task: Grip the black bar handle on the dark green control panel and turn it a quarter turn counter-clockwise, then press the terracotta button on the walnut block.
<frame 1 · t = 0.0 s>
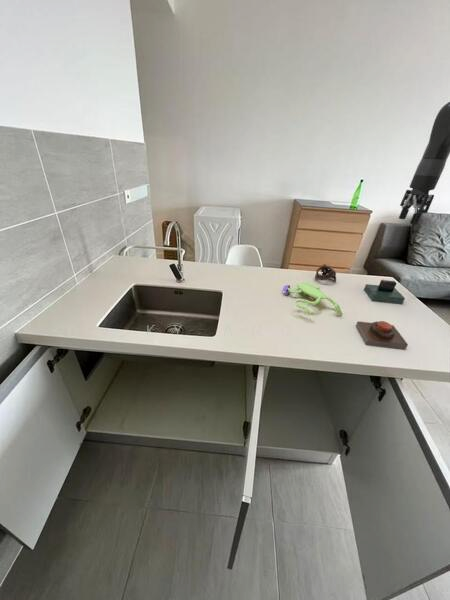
hand: (407, 221, 93), 31 cm above the worktop, tool pointing down, fingers open, 8 cm apart
panel: (382, 296, 106), on the worktop
button block: (378, 337, 81), on the worktop
button: (383, 326, 79), point 4 cm above the worktop, slide at 0.1 cm
dark brown dome: (324, 279, 118), on the worktop
figurine: (309, 303, 99), on the worktop
handle: (386, 285, 103), point 5 cm above the worktop, hinge at 0.0°
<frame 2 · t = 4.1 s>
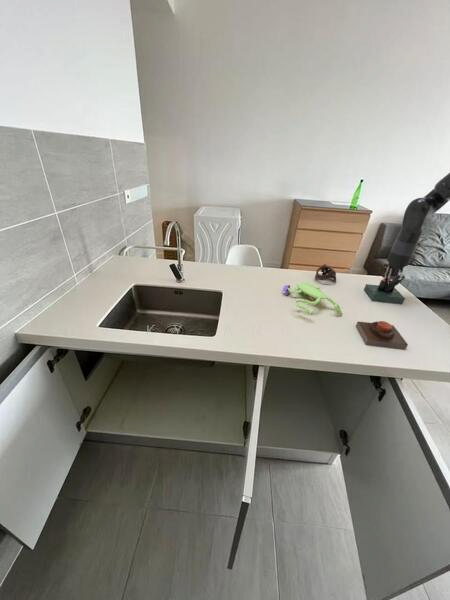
hand: (384, 290, 104), 3 cm above the worktop, tool pointing down, fingers closed on handle, 2 cm apart
handle: (386, 285, 103), point 5 cm above the worktop, hinge at 0.1°, touching gripper
everything else where it was.
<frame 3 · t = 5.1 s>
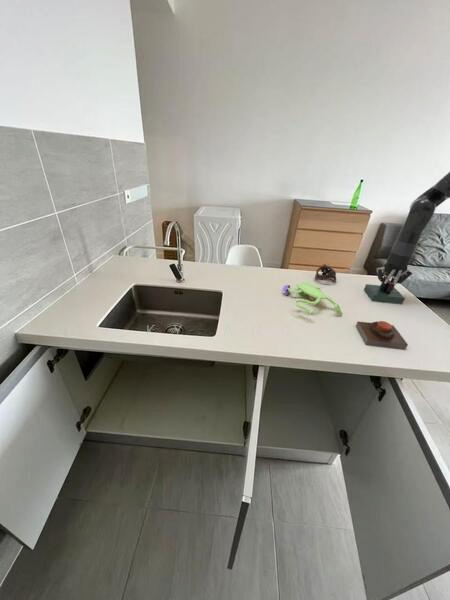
hand: (385, 290, 104), 3 cm above the worktop, tool pointing down, fingers closed
handle: (386, 285, 103), point 5 cm above the worktop, hinge at 89.8°
everything else where it was.
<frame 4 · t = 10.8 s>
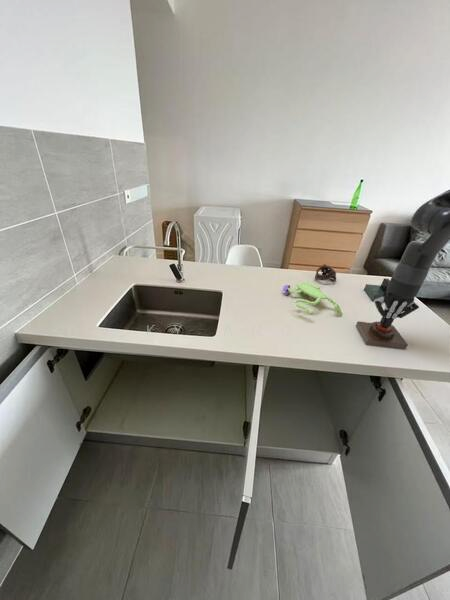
hand: (384, 325, 79), 5 cm above the worktop, tool pointing down, fingers closed
button: (383, 328, 79), point 4 cm above the worktop, slide at -0.5 cm, touching gripper
everything else where it was.
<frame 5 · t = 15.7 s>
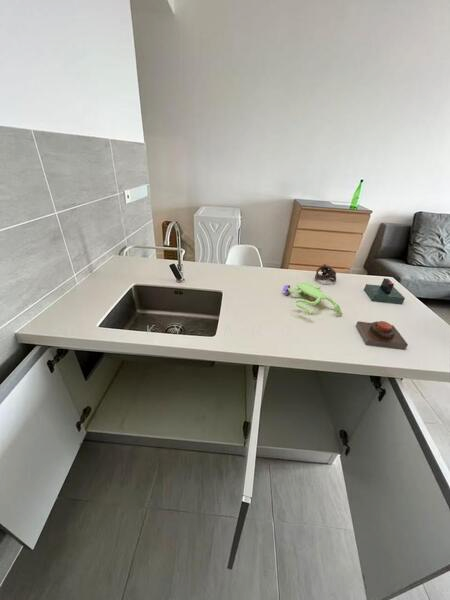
button: (383, 326, 79), point 4 cm above the worktop, slide at 0.1 cm
everything else where it was.
at the end: handle at +90° (first picture: +0°); button pushed in 1.1 cm at the most during the clip, back to where it started at the end; button slide at 0.1 cm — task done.
